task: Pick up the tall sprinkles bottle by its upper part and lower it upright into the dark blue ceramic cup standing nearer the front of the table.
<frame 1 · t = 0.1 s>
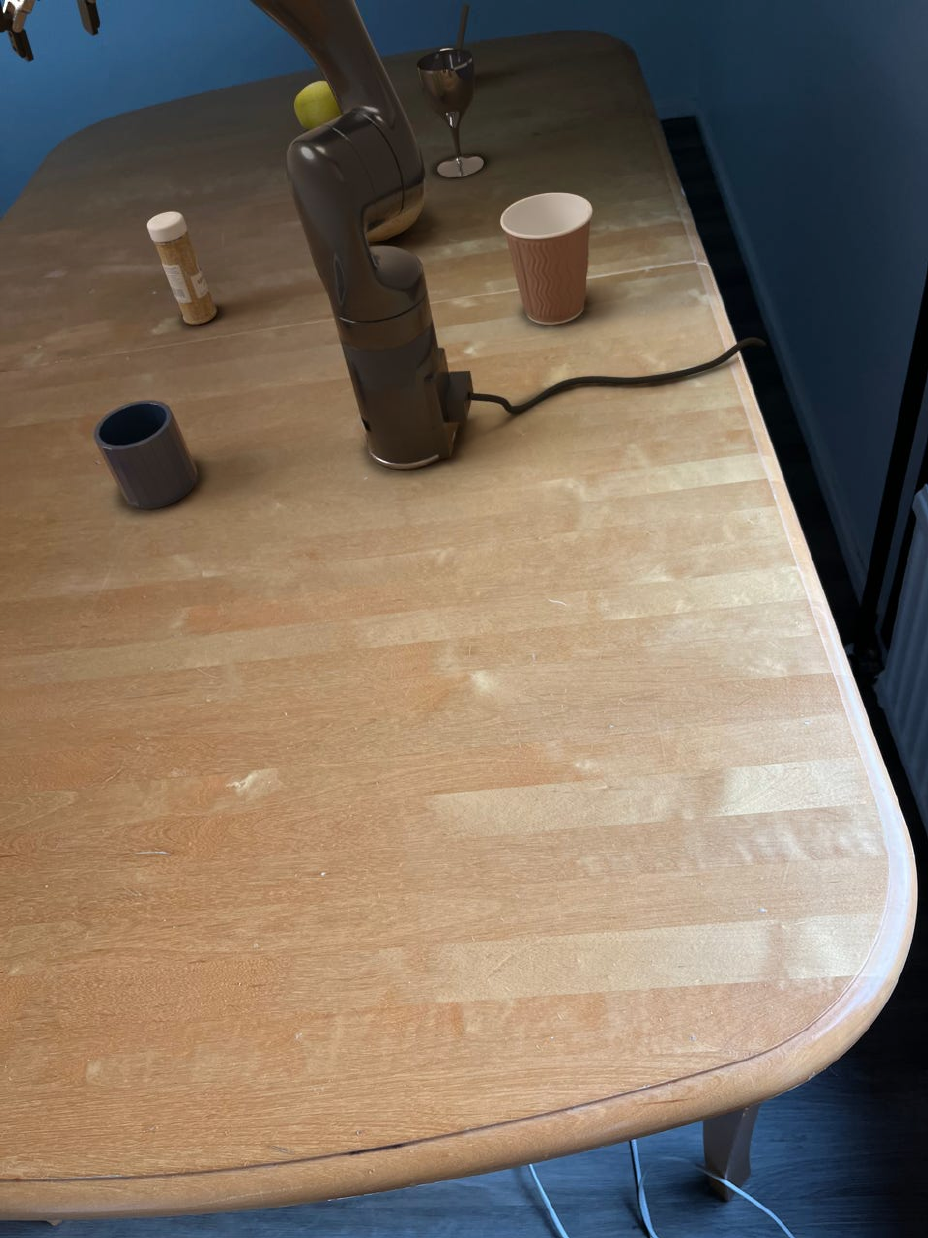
hand: (59, 44, 119), 31 cm above the table, tool tilted 20°, fingers open, 8 cm apart
sprinkles bottle: (201, 318, 134), on the table
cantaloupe: (383, 236, 143), on the table
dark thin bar: (453, 90, 176), on the table
apple: (329, 134, 170), on the table
holder cup: (161, 484, 110), on the table
coffee cup: (555, 311, 123), on the table
wine glass: (460, 167, 154), on the table
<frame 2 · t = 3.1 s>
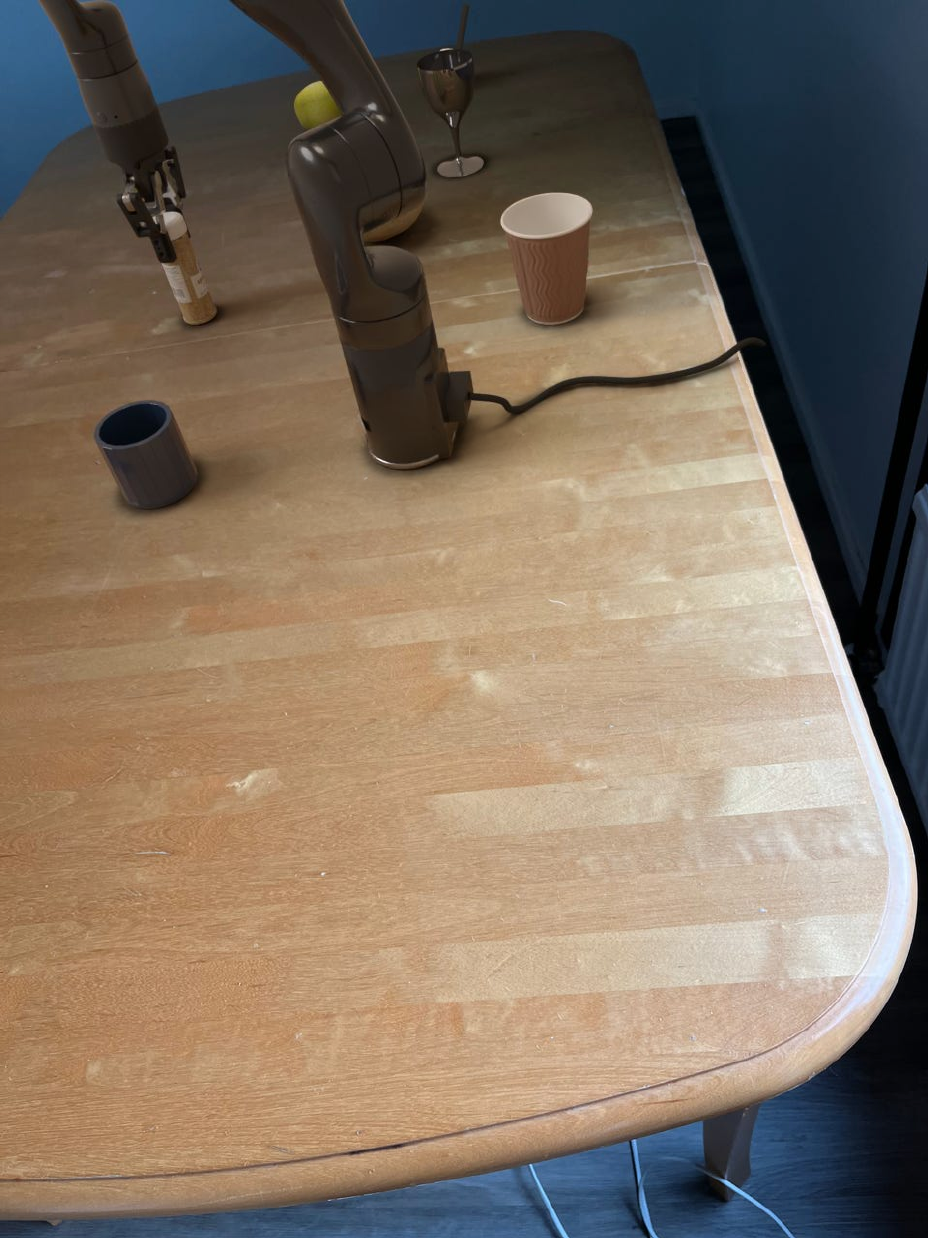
hand: (175, 250, 128), 9 cm above the table, tool pointing down, fingers closed on sprinkles bottle, 4 cm apart
sprinkles bottle: (201, 318, 134), on the table, touching gripper
everything else where it was.
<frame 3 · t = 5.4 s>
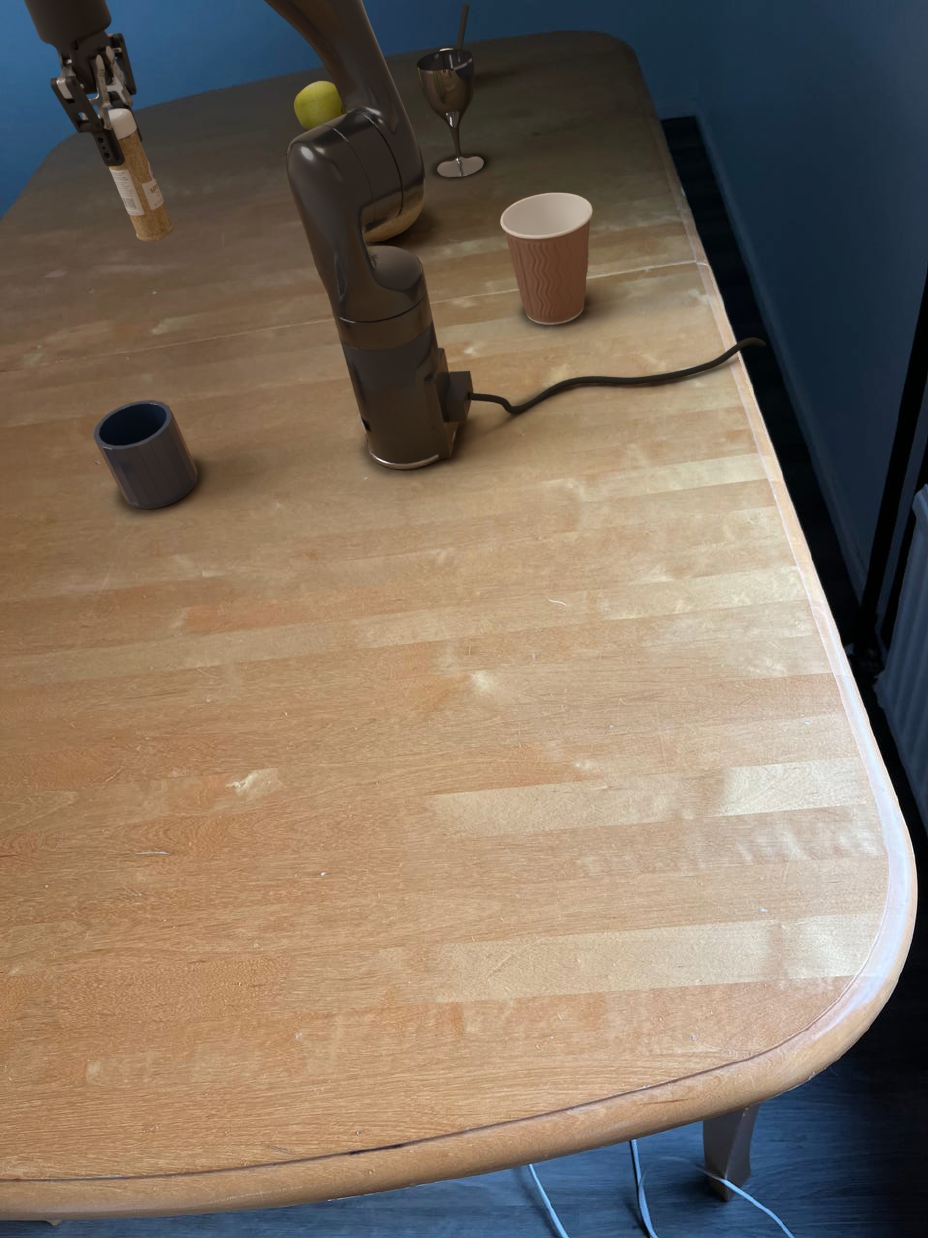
hand: (125, 153, 113), 24 cm above the table, tool pointing down, fingers closed on sprinkles bottle, 4 cm apart
sprinkles bottle: (157, 235, 120), point 14 cm above the table, touching gripper
everything else where it was.
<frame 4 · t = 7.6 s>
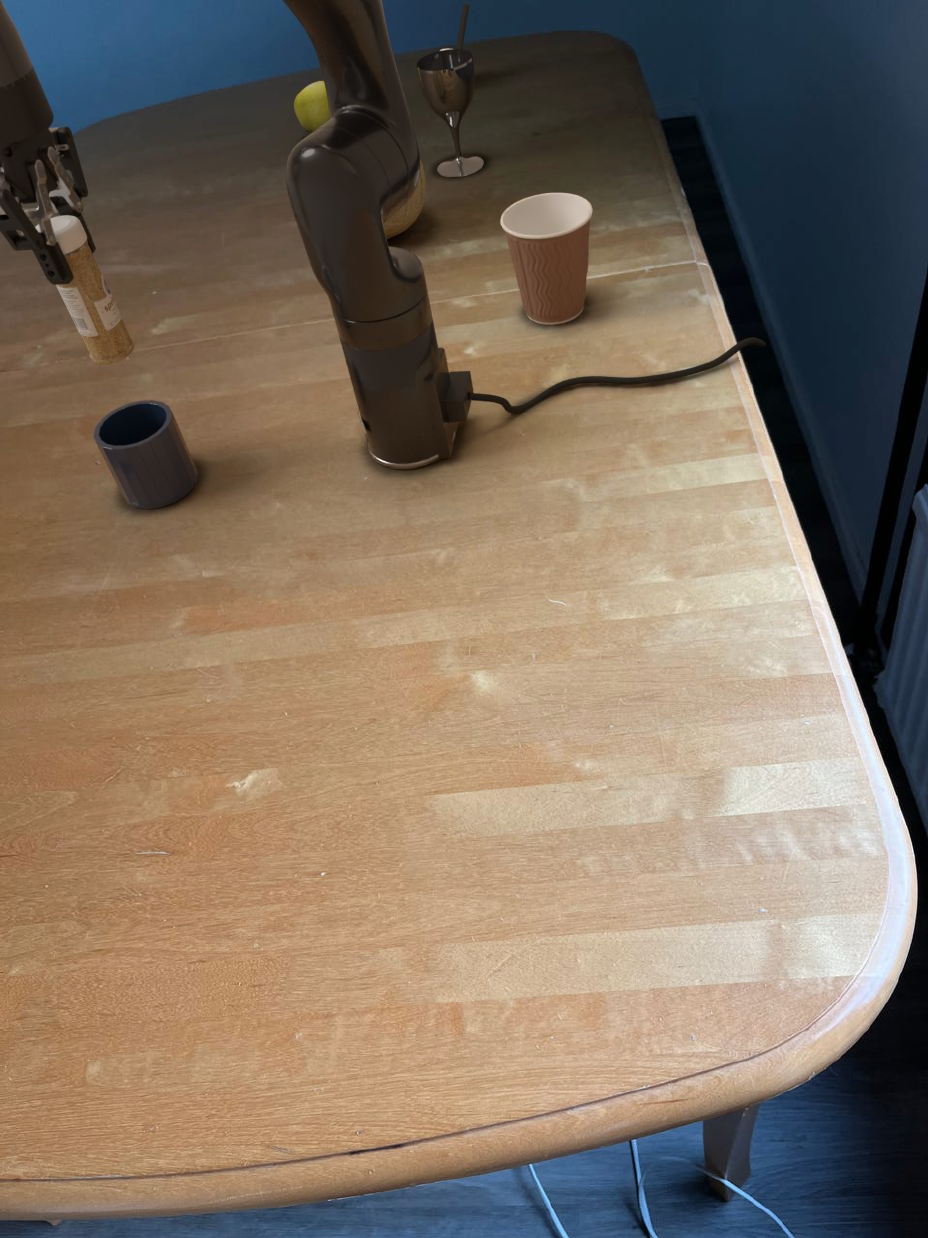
hand: (74, 266, 95), 24 cm above the table, tool pointing down, fingers closed on sprinkles bottle, 4 cm apart
sprinkles bottle: (114, 355, 102), point 14 cm above the table, touching gripper
everything else where it was.
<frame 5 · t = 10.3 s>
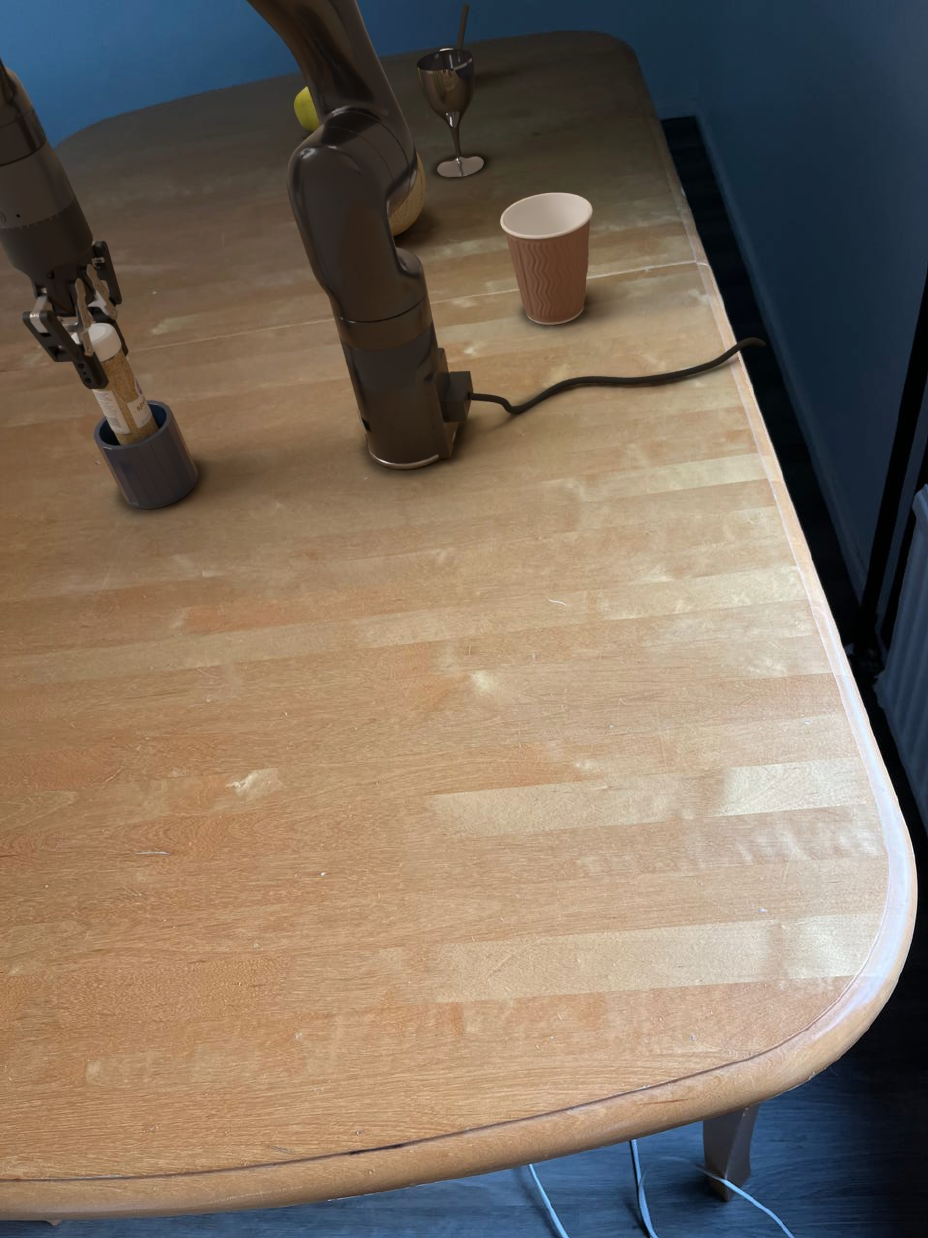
hand: (108, 370, 100), 14 cm above the table, tool pointing down, fingers closed on sprinkles bottle, 4 cm apart
sprinkles bottle: (144, 447, 107), point 5 cm above the table, touching gripper
everything else where it was.
when the fingers open (10 cm above the table, at t = 12.1 s): sprinkles bottle stays where it is, resting on holder cup.
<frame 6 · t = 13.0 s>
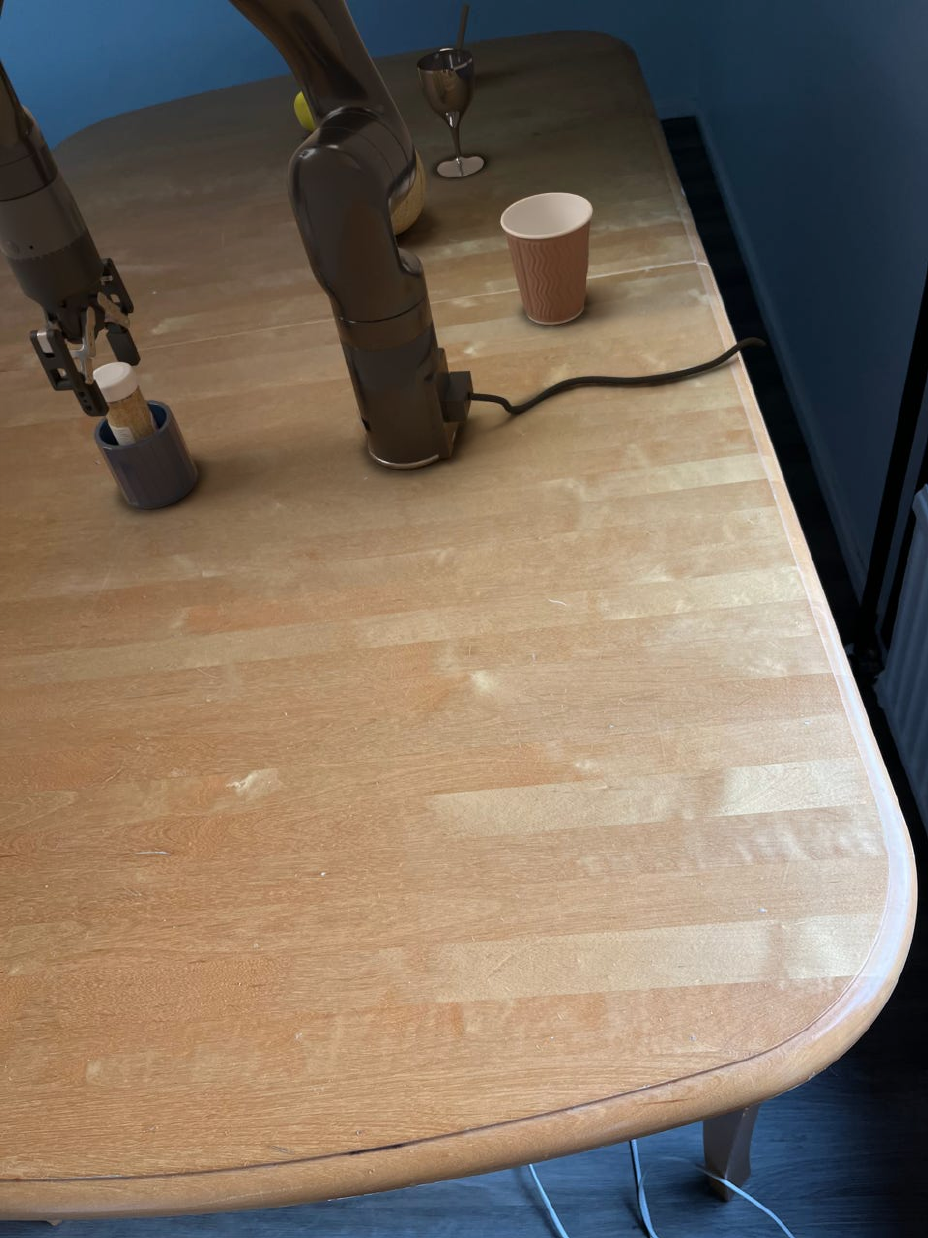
hand: (115, 388, 101), 12 cm above the table, tool pointing down, fingers open, 8 cm apart
sprinkles bottle: (159, 480, 110), resting on holder cup
everything else where it was.
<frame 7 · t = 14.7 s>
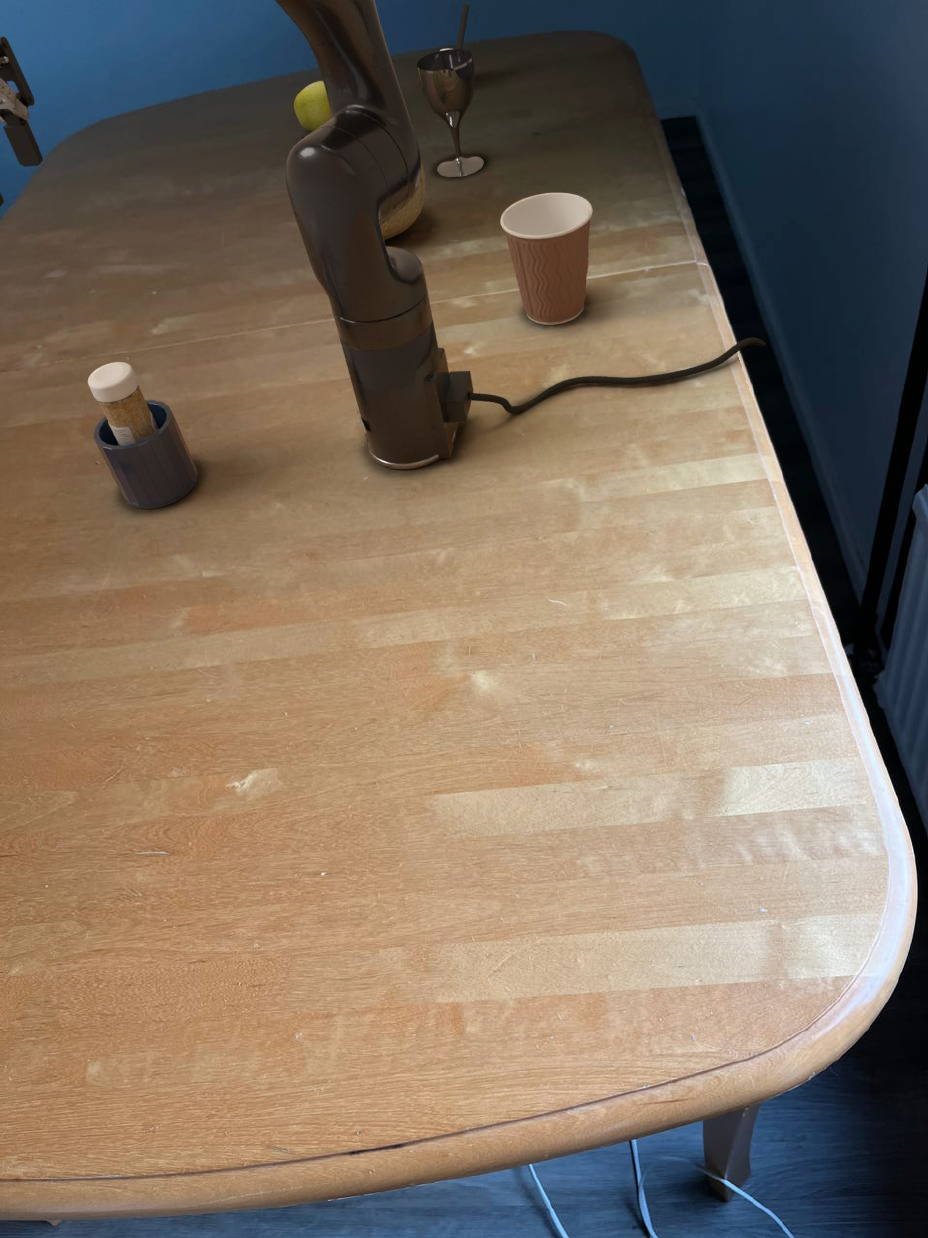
hand: (13, 184, 94), 30 cm above the table, tool pointing down, fingers open, 8 cm apart
nothing on the table moved.
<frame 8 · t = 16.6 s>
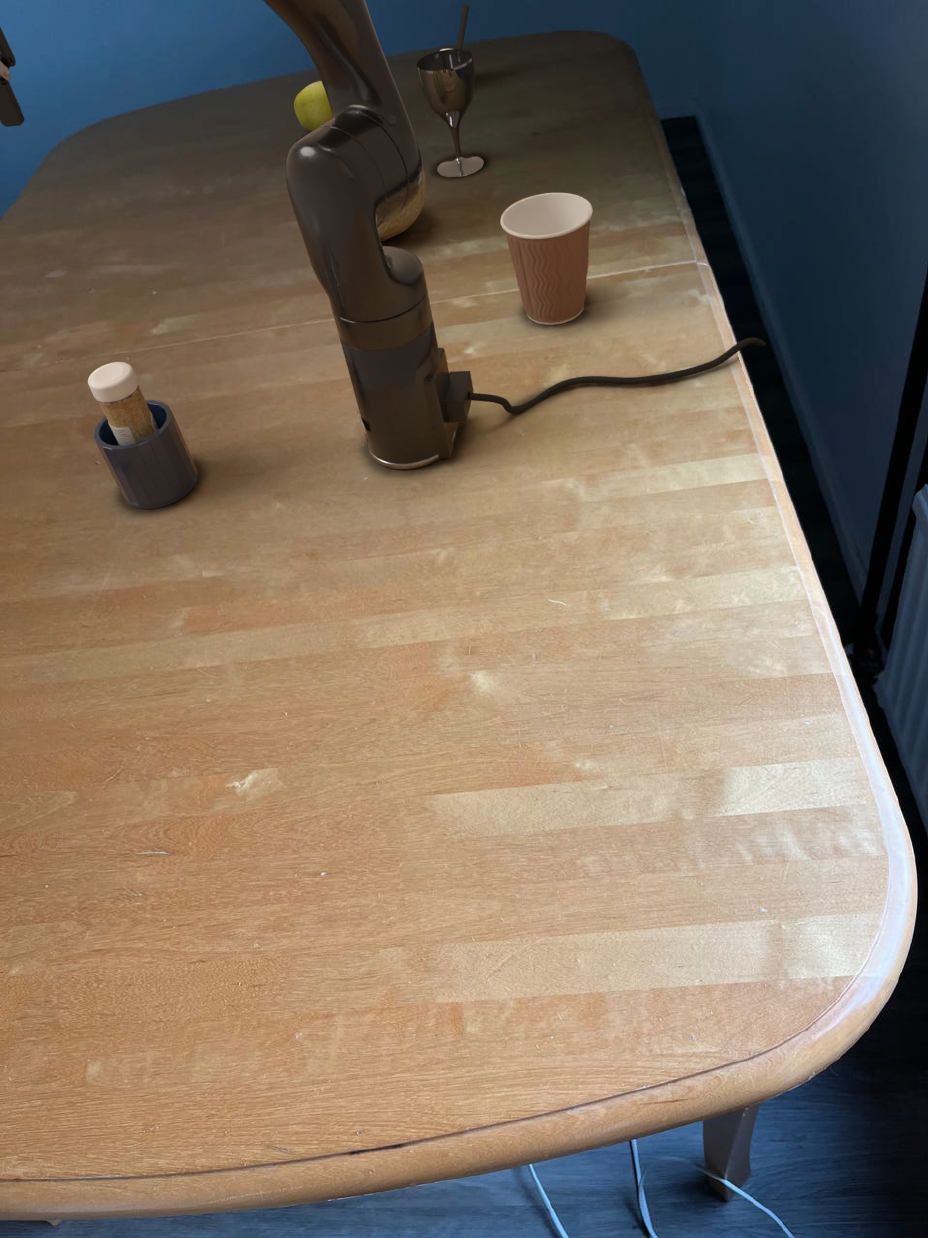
nothing on the table moved.
at the end: sprinkles bottle 0.1 cm off-centre in the holder cup, point 0.4 cm above the holder cup's base; sprinkles bottle tilted 0°; the gripper is holding nothing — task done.
